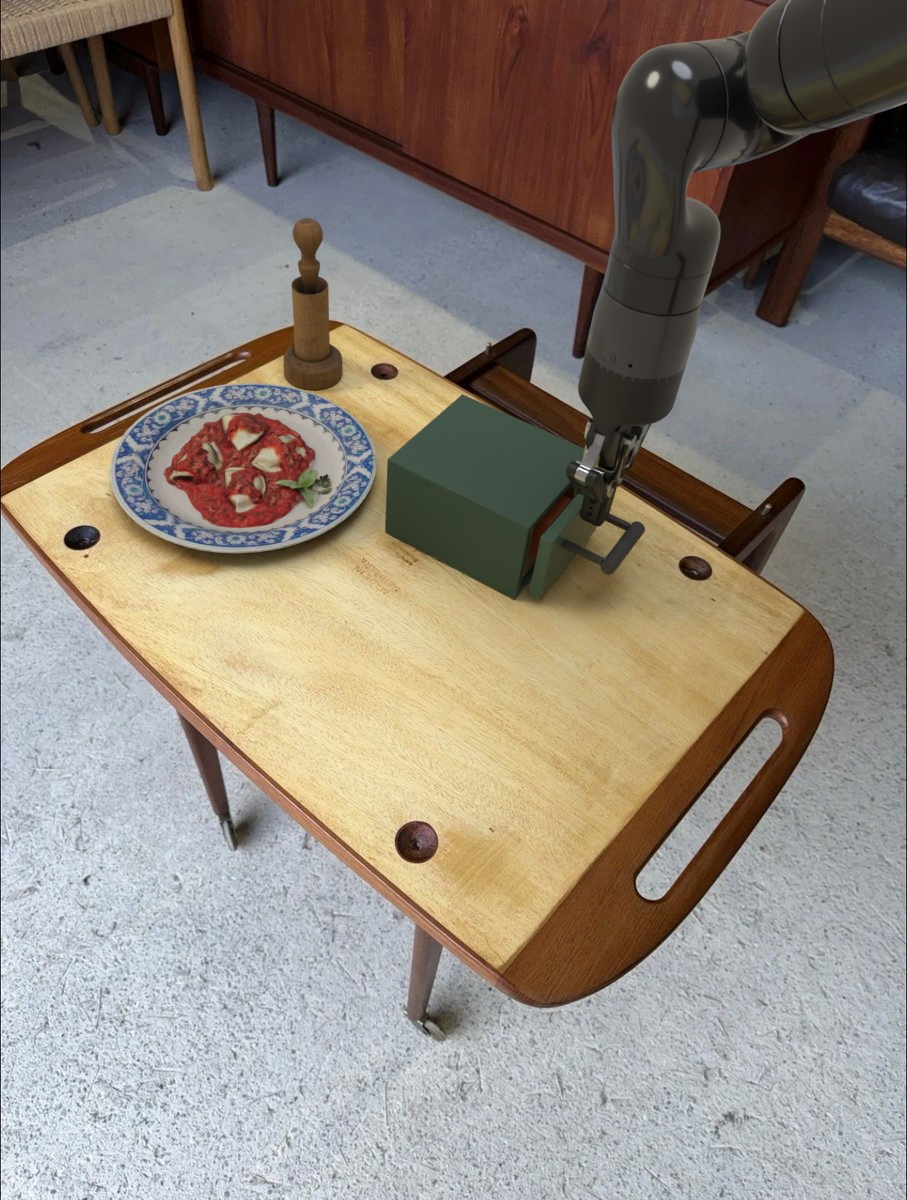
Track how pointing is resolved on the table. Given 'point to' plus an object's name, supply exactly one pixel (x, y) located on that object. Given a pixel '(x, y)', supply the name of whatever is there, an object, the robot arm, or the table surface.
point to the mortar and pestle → (311, 318)
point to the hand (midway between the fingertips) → (593, 518)
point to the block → (547, 523)
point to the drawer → (575, 545)
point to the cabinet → (477, 491)
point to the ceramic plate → (243, 468)
